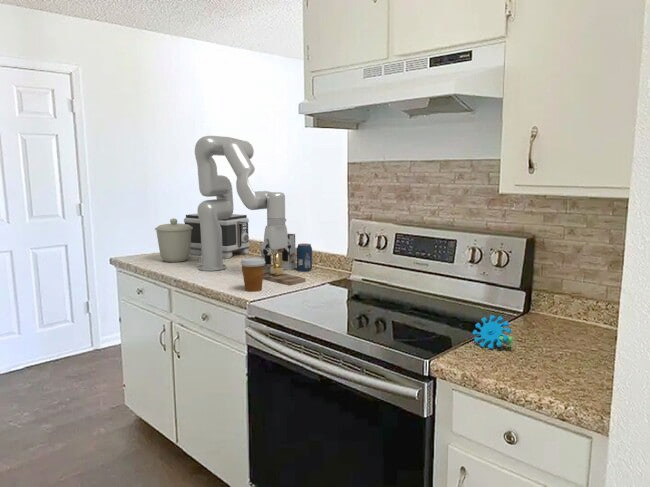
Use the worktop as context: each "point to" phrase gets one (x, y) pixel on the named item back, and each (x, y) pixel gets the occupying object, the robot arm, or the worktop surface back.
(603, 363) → the worktop surface
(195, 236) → the microwave oven
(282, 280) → the gauge board
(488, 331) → the gear
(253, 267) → the disposable coffee cup
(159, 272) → the worktop surface
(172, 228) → the canister
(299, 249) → the soda can
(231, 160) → the robot arm
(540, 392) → the worktop surface
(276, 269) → the sliding leg
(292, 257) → the coffee box
